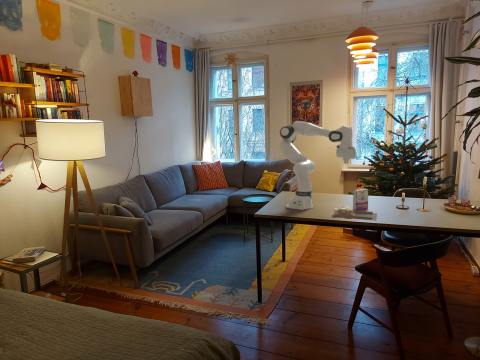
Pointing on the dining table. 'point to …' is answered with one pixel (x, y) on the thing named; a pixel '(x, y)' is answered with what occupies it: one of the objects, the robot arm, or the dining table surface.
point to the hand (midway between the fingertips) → (345, 163)
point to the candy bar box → (360, 199)
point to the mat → (359, 215)
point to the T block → (343, 210)
